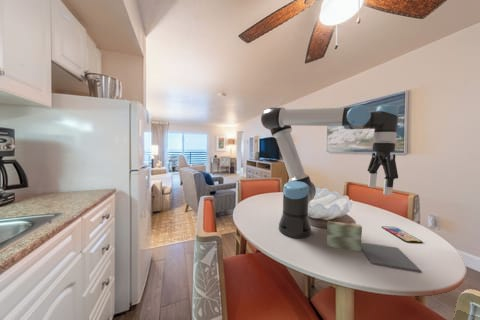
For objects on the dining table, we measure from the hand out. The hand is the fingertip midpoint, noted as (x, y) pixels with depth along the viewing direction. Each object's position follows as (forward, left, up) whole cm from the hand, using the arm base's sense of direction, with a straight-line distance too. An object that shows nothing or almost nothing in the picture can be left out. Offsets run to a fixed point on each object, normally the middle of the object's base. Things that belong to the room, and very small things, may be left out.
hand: (379, 190), depth 78 cm
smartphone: (+13, +8, -23) cm, 27 cm away
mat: (-2, -14, -22) cm, 26 cm away
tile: (-16, -13, -22) cm, 30 cm away
